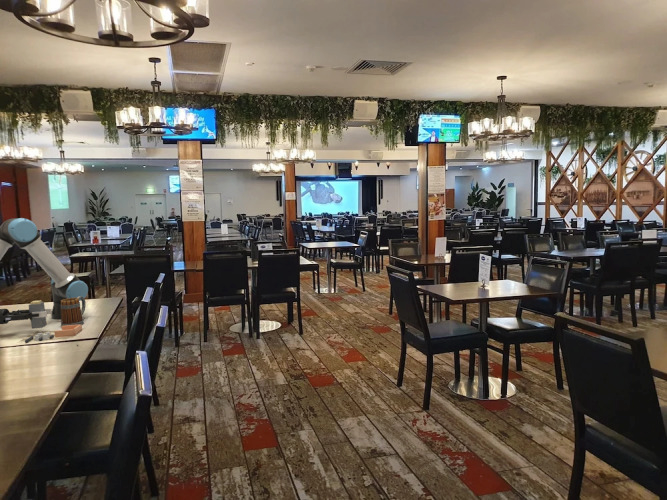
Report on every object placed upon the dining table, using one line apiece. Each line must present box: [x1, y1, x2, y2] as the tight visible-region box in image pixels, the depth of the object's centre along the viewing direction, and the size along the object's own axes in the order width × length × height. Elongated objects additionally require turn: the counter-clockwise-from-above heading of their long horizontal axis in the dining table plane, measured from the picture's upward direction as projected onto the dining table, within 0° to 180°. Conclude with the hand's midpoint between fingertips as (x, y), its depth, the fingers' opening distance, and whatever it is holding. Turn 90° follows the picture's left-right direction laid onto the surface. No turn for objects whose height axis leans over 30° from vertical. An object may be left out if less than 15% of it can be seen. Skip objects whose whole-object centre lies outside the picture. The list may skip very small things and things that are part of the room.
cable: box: [24, 335, 54, 344], centre depth 230 cm, size 7×11×1 cm
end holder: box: [54, 324, 83, 337], centre depth 239 cm, size 10×9×3 cm
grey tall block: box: [28, 299, 48, 330], centre depth 241 cm, size 5×5×13 cm
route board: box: [17, 327, 85, 343], centre depth 238 cm, size 18×24×1 cm
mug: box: [60, 297, 87, 328], centre depth 257 cm, size 16×11×15 cm
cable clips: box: [34, 332, 51, 342], centre depth 231 cm, size 4×6×2 cm
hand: (48, 312), depth 242 cm, fingers closed on grey tall block, 5 cm apart
